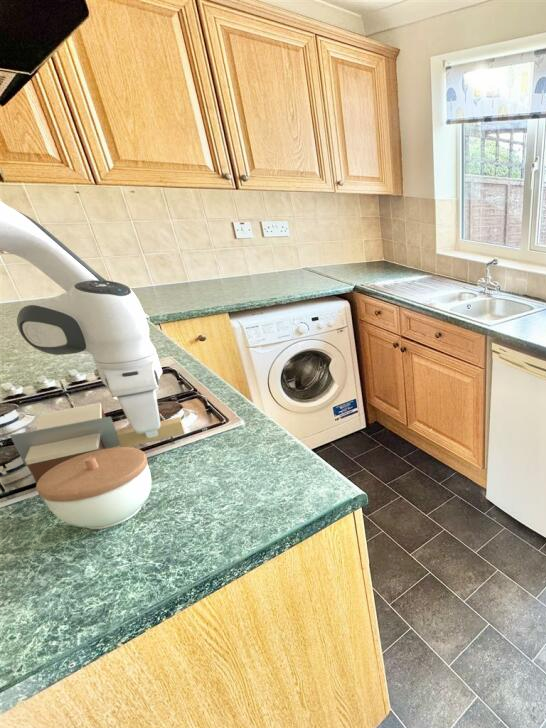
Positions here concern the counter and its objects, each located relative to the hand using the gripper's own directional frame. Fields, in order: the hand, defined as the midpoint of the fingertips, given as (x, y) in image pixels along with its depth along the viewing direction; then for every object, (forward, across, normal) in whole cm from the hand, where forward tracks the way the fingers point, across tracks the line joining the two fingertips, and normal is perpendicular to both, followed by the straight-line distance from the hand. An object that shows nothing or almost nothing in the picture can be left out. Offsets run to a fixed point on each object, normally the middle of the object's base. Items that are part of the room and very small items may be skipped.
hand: (151, 431), depth 85 cm
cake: (+4, -11, -12) cm, 16 cm away
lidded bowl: (+4, +19, -7) cm, 21 cm away
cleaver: (+2, 0, -6) cm, 7 cm away
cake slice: (+4, +2, -12) cm, 13 cm away
